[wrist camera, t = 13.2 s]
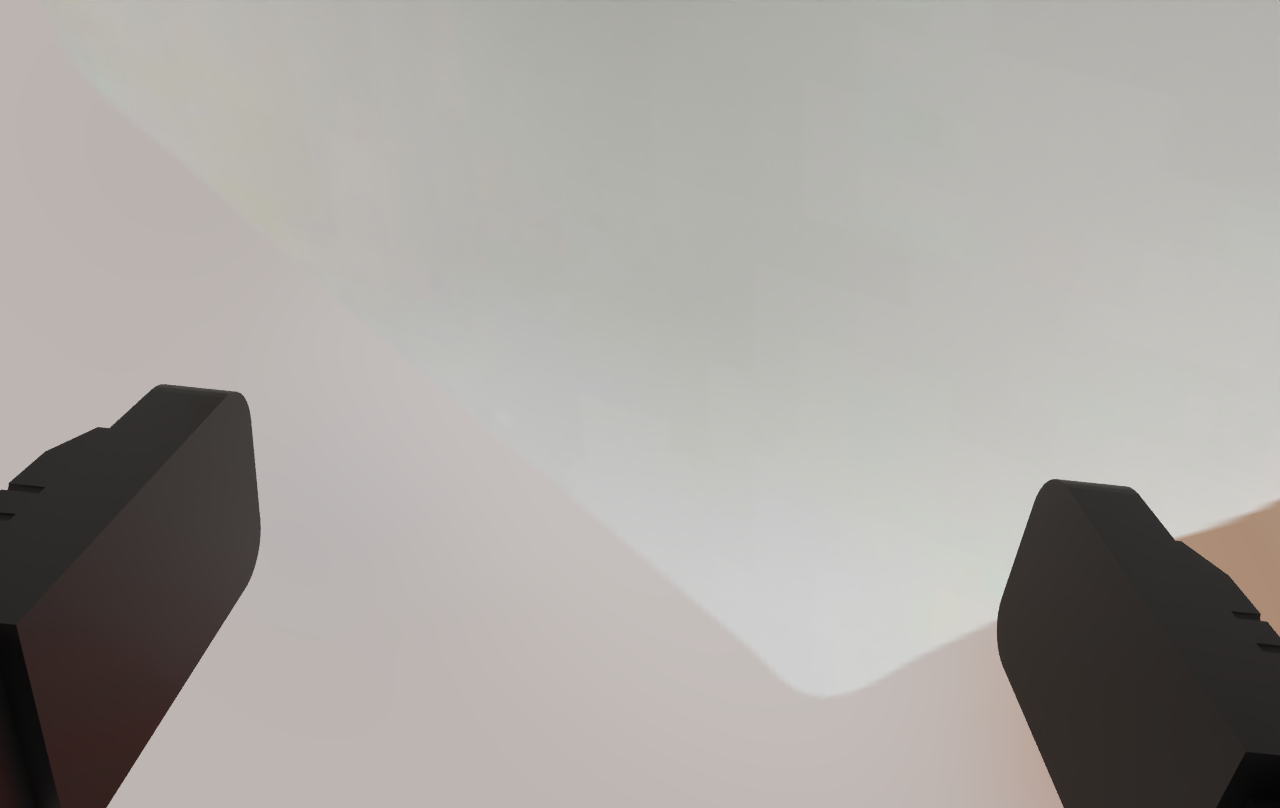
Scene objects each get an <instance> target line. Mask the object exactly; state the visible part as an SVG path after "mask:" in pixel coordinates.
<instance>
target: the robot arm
mask: <svg viewBox="0 0 1280 808" xmlns="http://www.w3.org/2000/svg"><path fill="white" fill-rule="evenodd" d="M260 529H261V527H260V513H259V502H258V491H257V481H256V469H255V459H254V448H253V437H252V427H251V417H250V411H249V407H248V404H247V401H246V399H245V398H244V396H243V395H242V394H241V393H238V392H232V391H224V390H213V389H204V388H194V387H185V386H176V385H166V384H165V385H158V386H156V387H155V388H153V389H152V390H151V391H150V392H149V393H147V394H146V395H145V396H144V397H143V398H142V399H141V400H140V401H139V402H138V403H137V404H136V405H134V406H133V407H132V408H131V409H130V410H129V411H128V412H127V413H126V414H125V415H123V416H122V417H121V418H120V419H119V420H118V421H117V422H116V423H115V424H114V425H113V426H111V428H100V427H97V428H95V429H93V430H91V431H89V432H87V433H85V434H82V435H80V436H78V437H76V438H74V439H72V440H70V441H67V442H65V443H63V444H61V445H59V446H57V447H54V448H52V449H50V450H48V451H46V452H44V453H43V454H42V455H41V456H40V457H39V458H37V459H36V460H35V461H34V462H33V463H32V464H30V465H29V466H28V467H27V468H26V469H25V470H24V471H22V472H21V473H20V474H19V475H18V476H17V477H15V478H14V479H13V480H12V481H11V482H10V483H9V487H8V490H0V808H106V807H107V806H108V804H109V803H110V801H111V799H112V798H113V796H114V795H115V793H116V792H117V790H118V788H119V787H120V785H121V784H122V782H123V781H124V779H125V777H126V776H127V774H128V773H129V771H130V769H131V768H132V766H133V765H134V763H135V761H136V760H137V758H138V757H139V755H140V754H141V752H142V751H143V749H144V747H145V746H146V744H147V743H148V741H149V740H150V738H151V736H152V735H153V733H154V732H155V730H156V728H157V726H158V725H159V724H160V722H161V720H162V719H163V717H164V716H165V714H166V713H167V711H168V709H169V708H170V706H171V705H172V703H173V701H174V700H175V698H176V697H177V695H178V694H179V692H180V690H181V689H182V687H183V686H184V684H185V682H186V681H187V679H188V678H189V676H190V675H191V673H192V672H193V670H194V668H195V667H196V665H197V664H198V662H199V661H200V659H201V657H202V656H203V654H204V653H205V651H206V650H207V648H208V646H209V645H210V643H211V642H212V640H213V638H214V637H215V635H216V633H217V632H218V631H219V629H220V627H221V626H222V624H223V622H224V621H225V620H226V618H227V616H228V615H229V613H230V612H231V610H232V608H233V607H234V605H235V604H236V602H237V600H238V599H239V597H240V596H241V594H242V593H243V591H244V590H245V588H246V586H247V584H248V582H249V580H250V578H251V576H252V573H253V570H254V567H255V564H256V560H257V556H258V551H259V544H260ZM1260 615H1261V614H1260V613H1259V612H1258V610H1257V609H1256V608H1255V607H1254V606H1253V604H1252V603H1251V602H1250V601H1249V599H1248V598H1247V597H1246V596H1245V595H1244V593H1243V592H1242V591H1241V590H1240V589H1239V587H1238V586H1237V585H1236V584H1235V583H1234V581H1233V580H1232V579H1231V578H1230V577H1229V576H1228V575H1227V574H1226V573H1224V572H1223V571H1222V570H1220V569H1219V568H1217V567H1216V566H1214V565H1213V564H1212V563H1210V562H1209V561H1208V560H1206V559H1205V558H1204V557H1202V556H1201V555H1199V554H1198V553H1196V552H1195V551H1194V550H1193V549H1191V548H1190V547H1188V546H1187V545H1186V544H1184V543H1183V542H1181V541H1175V540H1174V538H1173V537H1172V536H1171V535H1170V533H1169V532H1168V531H1167V530H1166V528H1165V527H1164V526H1163V525H1162V523H1161V522H1160V521H1159V520H1158V518H1157V517H1156V516H1155V514H1154V513H1153V512H1152V511H1151V509H1150V508H1149V507H1148V506H1147V504H1146V503H1145V502H1144V501H1143V499H1142V498H1141V497H1140V495H1139V494H1138V493H1137V492H1136V491H1135V490H1133V489H1132V488H1130V487H1126V486H1116V485H1107V484H1097V483H1087V482H1078V481H1068V480H1059V479H1053V480H1050V481H1048V482H1047V483H1045V484H1044V485H1043V487H1042V488H1041V489H1040V491H1039V493H1038V495H1037V497H1036V499H1035V502H1034V505H1033V508H1032V511H1031V513H1030V516H1029V519H1028V522H1027V525H1026V528H1025V531H1024V534H1023V537H1022V540H1021V543H1020V546H1019V549H1018V552H1017V555H1016V558H1015V561H1014V564H1013V567H1012V570H1011V573H1010V576H1009V578H1008V581H1007V584H1006V587H1005V590H1004V593H1003V596H1002V599H1001V603H1000V607H999V612H998V620H997V642H998V650H999V655H1000V658H1001V662H1002V665H1003V668H1004V670H1005V672H1006V675H1007V677H1008V679H1009V682H1010V684H1011V686H1012V688H1013V691H1014V693H1015V695H1016V698H1017V700H1018V702H1019V705H1020V707H1021V709H1022V712H1023V714H1024V716H1025V718H1026V721H1027V723H1028V726H1029V728H1030V730H1031V732H1032V735H1033V737H1034V739H1035V741H1036V744H1037V746H1038V749H1039V751H1040V753H1041V755H1042V758H1043V760H1044V762H1045V765H1046V767H1047V769H1048V772H1049V774H1050V776H1051V778H1052V781H1053V783H1054V786H1055V788H1056V790H1057V793H1058V795H1059V797H1060V800H1061V802H1062V804H1063V807H1064V808H1280V637H1279V636H1278V634H1277V633H1276V632H1275V631H1274V630H1273V629H1272V627H1271V626H1270V625H1269V623H1268V622H1264V621H1260Z"/></svg>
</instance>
